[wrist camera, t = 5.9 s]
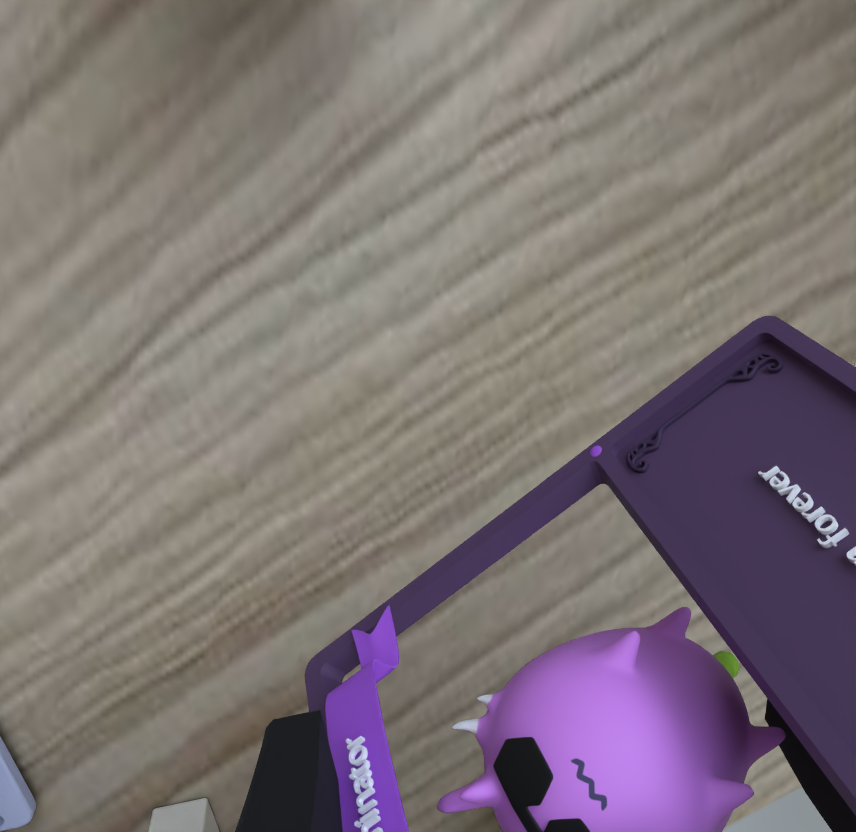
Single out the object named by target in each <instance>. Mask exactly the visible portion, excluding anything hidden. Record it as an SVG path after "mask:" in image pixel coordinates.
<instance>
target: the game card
mask: <svg viewBox="0 0 856 832" xmlns="http://www.w3.org/2000/svg"><path fill="white" fill-rule="evenodd" d="M603 483H604V484H607V485H608V486H609V487H610V489H611V490H612V491H613V493H614V494H615V495H616V497H617V498H618V499H619V501H620V502H621V503H622V505H623V506H624V507H625V509H626V510H627V511H628V513H629V514H630V515H631V517H632V518H633V519H634V521H635V522H636V523H637V525H638V526H639V527H640V529H641V530H642V531H643V533H644V534H645V535H646V537H647V538H648V539H649V541H650V542H651V543H652V545H653V546H654V547H655V549H656V550H657V551H658V553H659V554H660V555H661V557H662V558H663V559H664V561H665V562H666V563H667V565H668V566H669V567H670V569H671V570H672V571H673V573H674V574H675V575H676V577H677V578H678V579H679V581H680V582H681V583H682V585H683V586H684V587H685V589H686V590H687V591H688V593H689V594H690V595H691V597H692V598H693V599H694V601H695V602H696V603H697V605H698V606H699V607H700V609H701V610H702V611H703V613H704V614H705V615H706V617H707V618H708V619H709V621H710V622H711V623H712V625H713V626H714V627H715V629H716V630H717V631H718V633H719V634H720V635H721V637H722V638H723V639H724V641H725V642H726V643H727V645H728V646H729V647H730V649H731V650H732V651H733V653H734V654H735V655H736V657H737V658H738V659H739V661H740V662H741V663H742V665H743V666H744V667H745V669H746V670H747V671H748V673H749V674H750V675H751V677H752V678H753V679H754V681H755V682H756V683H757V685H758V686H759V687H760V689H761V690H762V691H763V693H764V694H765V695H766V697H767V698H768V699H769V701H770V702H771V703H772V705H773V706H774V707H775V709H776V710H777V711H778V713H779V714H780V715H781V717H782V718H783V719H784V721H785V722H786V723H787V725H788V726H789V727H790V729H791V730H792V731H793V733H794V734H795V735H796V737H797V738H798V739H799V741H800V742H801V743H802V745H803V746H804V747H805V749H806V750H807V751H808V753H809V754H810V755H811V757H812V758H813V759H814V761H815V762H816V763H817V765H818V766H819V767H820V769H821V770H822V771H823V773H824V774H825V775H826V777H827V778H828V779H829V781H830V782H831V783H832V785H833V786H834V787H835V789H836V790H837V791H838V793H839V794H840V795H841V797H842V798H843V799H844V801H845V802H846V803H847V805H848V806H849V807H850V809H851V810H852V811H853V813H854V814H855V815H856V367H854V366H853V365H851V364H850V363H848V362H846V361H845V360H843V359H842V358H840V357H839V356H837V355H835V354H834V353H832V352H831V351H829V350H828V349H826V348H825V347H823V346H821V345H820V344H818V343H817V342H815V341H814V340H812V339H810V338H809V337H807V336H806V335H804V334H803V333H801V332H800V331H798V330H796V329H795V328H793V327H792V326H790V325H789V324H787V323H785V322H784V321H782V320H781V319H779V318H777V317H775V316H764V317H761V318H758V319H756V320H755V321H753V322H752V323H750V324H749V325H748V326H746V327H745V328H744V329H743V330H741V331H740V332H739V333H737V334H736V335H735V336H733V337H732V338H731V339H729V340H728V341H727V342H726V343H724V344H723V345H722V346H720V347H719V348H718V349H716V350H715V351H714V352H712V353H711V354H710V355H708V356H707V357H706V358H705V359H703V360H702V361H701V362H699V363H698V364H697V365H695V366H694V367H693V368H691V369H690V370H689V371H687V372H686V373H685V374H684V375H682V376H681V377H680V378H678V379H677V380H676V381H674V382H673V383H672V384H670V385H669V386H668V387H667V388H665V389H664V390H663V391H661V392H660V393H659V394H657V395H656V396H655V397H653V398H652V399H651V400H649V401H648V402H647V403H646V404H644V405H643V406H642V407H640V408H639V409H638V410H636V411H635V412H634V413H632V414H631V415H630V416H628V417H627V418H626V419H625V420H623V421H622V422H621V423H619V424H618V425H617V426H615V427H614V428H613V429H611V430H610V431H609V432H608V433H606V434H605V435H604V436H602V437H601V438H600V439H598V440H597V441H596V442H594V443H593V444H592V445H590V446H589V447H588V448H587V449H585V450H584V451H583V452H581V453H580V454H579V455H577V456H576V457H575V458H573V459H572V460H571V461H569V462H568V463H567V464H566V465H564V466H563V467H562V468H560V469H559V470H558V471H556V472H555V473H554V474H552V475H551V476H550V477H549V478H547V479H546V480H545V481H543V482H542V483H541V484H539V485H538V486H537V487H535V488H534V489H533V490H531V491H530V492H529V493H528V494H526V495H525V496H524V497H522V498H521V499H520V500H518V501H517V502H516V503H514V504H513V505H512V506H510V507H509V508H508V509H507V510H505V511H504V512H503V513H501V514H500V515H499V516H497V517H496V518H495V519H493V520H492V521H491V522H490V523H488V524H487V525H486V526H484V527H483V528H482V529H480V530H479V531H478V532H476V533H475V534H474V535H472V536H471V537H470V538H469V539H467V540H466V541H465V542H463V543H462V544H461V545H459V546H458V547H457V548H455V549H454V550H453V551H452V552H450V553H449V554H448V555H446V556H445V557H444V558H442V559H441V560H440V561H438V562H437V563H436V564H434V565H433V566H432V567H431V568H429V569H428V570H427V571H425V572H424V573H423V574H421V575H420V576H419V577H417V578H416V579H415V580H413V581H412V582H411V583H410V584H408V585H407V586H406V587H404V588H403V589H402V590H400V591H399V592H398V593H396V594H395V595H394V596H393V597H391V598H390V599H389V600H387V601H386V602H385V603H383V604H382V605H381V606H379V607H378V608H377V609H375V610H374V611H373V612H372V613H370V614H369V615H368V616H366V617H365V618H364V619H362V620H361V621H360V622H358V623H357V624H356V625H354V626H353V627H352V628H351V629H349V630H348V631H347V632H345V633H344V634H343V635H341V636H340V637H339V638H337V639H336V640H335V641H334V642H332V643H331V644H330V645H328V646H327V647H326V648H324V649H323V650H322V651H320V652H319V653H318V654H316V655H315V656H314V657H313V658H312V659H311V660H310V662H309V663H308V665H307V668H306V671H305V683H306V691H307V698H308V706H309V712H312V711H317V710H320V711H321V715H322V719H323V722H324V726H325V730H326V734H327V738H328V742H329V746H330V750H331V754H332V757H333V761H334V765H335V769H336V773H337V777H338V782H339V794H340V806H341V817H342V829H343V832H409V830H408V826H407V822H406V818H405V814H404V810H403V806H402V801H401V797H400V793H399V789H398V784H397V780H396V776H395V772H394V767H393V763H392V759H391V755H390V750H389V746H388V742H387V737H386V733H385V728H384V723H383V718H382V713H381V708H380V702H379V697H378V691H377V686H376V683H377V682H379V681H380V680H382V679H383V678H384V677H385V676H387V675H388V674H389V673H390V672H391V671H393V670H394V669H395V668H396V667H397V665H398V663H399V650H398V643H397V638H396V636H398V635H399V634H400V633H402V632H403V631H404V630H406V629H407V628H408V627H410V626H411V625H412V624H414V623H415V622H416V621H418V620H419V619H420V618H422V617H423V616H424V615H426V614H427V613H428V612H430V611H431V610H432V609H434V608H435V607H436V606H438V605H439V604H440V603H442V602H443V601H444V600H446V599H447V598H448V597H450V596H451V595H452V594H454V593H455V592H456V591H458V590H459V589H460V588H462V587H463V586H464V585H466V584H467V583H468V582H470V581H471V580H472V579H474V578H475V577H476V576H478V575H479V574H480V573H482V572H483V571H484V570H486V569H487V568H488V567H490V566H491V565H492V564H494V563H495V562H496V561H498V560H499V559H500V558H502V557H503V556H504V555H506V554H507V553H508V552H510V551H511V550H512V549H514V548H515V547H516V546H518V545H519V544H520V543H522V542H523V541H524V540H526V539H527V538H528V537H530V536H531V535H532V534H534V533H535V532H536V531H538V530H539V529H540V528H542V527H543V526H544V525H546V524H547V523H548V522H550V521H551V520H552V519H554V518H555V517H556V516H558V515H559V514H560V513H562V512H563V511H564V510H566V509H567V508H568V507H570V506H571V505H572V504H574V503H575V502H576V501H578V500H579V499H580V498H582V497H583V496H584V495H586V494H587V493H588V492H590V491H591V490H592V489H594V488H595V487H596V486H598V485H600V484H603ZM690 618H691V611H690V609H689V608H687V607H682V608H679V609H677V610H676V611H674V612H672V613H671V614H669V615H668V616H667V617H665V618H664V619H662V620H661V621H659V622H658V623H656V624H654V625H652V626H649V627H646V628H622V629H614V630H607V631H602V632H598V633H594V634H590V635H586V636H583V637H580V638H577V639H574V640H571V641H569V642H566V643H564V644H562V645H559V646H557V647H555V648H553V649H551V650H549V651H547V652H545V653H544V654H542V655H540V656H538V657H537V658H535V659H533V660H532V661H530V662H529V663H528V664H526V665H525V666H524V667H523V668H521V669H520V670H519V671H518V672H517V673H516V674H515V675H514V676H513V677H512V678H511V679H510V681H509V682H508V683H507V684H506V686H505V687H504V688H503V689H502V690H500V691H499V692H497V693H495V694H490V695H483V696H480V697H478V698H477V700H479V701H481V702H483V703H485V704H486V706H487V708H488V711H487V713H486V714H485V715H484V716H483V717H481V718H479V719H471V720H464V721H461V722H459V723H457V724H455V725H454V726H453V727H452V728H453V729H456V730H465V731H469V732H472V733H474V734H475V736H476V738H477V740H478V742H479V744H480V746H481V748H482V750H483V755H484V766H485V773H484V774H483V775H482V776H481V777H479V778H478V779H476V780H475V781H473V782H472V783H470V784H468V785H466V786H464V787H462V788H460V789H458V790H455V791H453V792H451V793H448V794H446V795H445V796H443V797H442V798H441V799H440V800H439V802H438V804H437V808H438V810H439V811H441V812H444V813H453V812H459V811H465V810H470V809H476V808H481V807H493V810H494V813H495V816H496V818H497V821H498V823H499V825H500V827H501V829H502V831H503V832H722V831H723V829H724V827H725V825H726V823H727V822H728V820H729V818H730V816H731V814H732V812H733V810H734V809H735V808H737V807H738V806H740V805H741V804H743V803H744V802H745V801H747V800H748V799H749V798H751V797H752V796H753V794H754V792H753V790H752V788H751V787H750V786H749V785H747V784H744V781H745V777H746V774H747V771H748V769H749V768H750V766H751V765H752V764H753V763H754V762H755V761H756V760H757V759H759V758H760V757H762V756H763V755H765V754H766V753H768V752H769V751H771V750H772V749H774V748H775V747H777V746H778V745H779V744H780V743H782V742H783V740H784V739H785V736H786V734H785V732H784V731H783V730H782V729H781V728H778V727H757V726H753V725H751V724H750V721H749V717H748V713H747V709H746V706H745V703H744V700H743V698H742V695H741V693H740V691H739V689H738V687H737V685H736V683H735V681H734V680H733V678H734V677H735V676H736V675H737V673H738V671H739V663H738V661H737V659H736V658H735V657H734V656H733V655H732V654H731V653H729V652H725V651H720V652H718V653H716V654H715V655H712V654H710V653H709V652H708V651H706V650H705V649H704V648H702V647H701V646H699V645H698V644H696V643H694V642H693V641H691V640H689V639H687V638H685V632H686V629H687V626H688V624H689V621H690ZM359 664H361V670H360V671H358V672H357V673H356V674H354V675H353V676H352V677H350V678H349V679H348V680H346V681H345V682H344V683H342V680H343V678H344V676H345V675H346V674H347V673H348V672H350V671H351V670H352V669H354V668H355V667H356V666H358V665H359Z"/></svg>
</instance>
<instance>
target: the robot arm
mask: <svg viewBox="0 0 856 832" xmlns="http://www.w3.org/2000/svg"><path fill="white" fill-rule="evenodd" d="M765 720H766V722H767V723H768V725H769V727H778V728H781V729H782V730H783V731H784V732H785V734H786V736H785V739H784V740H783V742H782V743H780V744H779V746H780V748H781V750H782V752H783V753H784V755H785V757H786V759H787V761H788V763H789V764H790V766H791V768H792V770H793V771H794V773H795V775H796V777H797V778H798V780H799V782H800V784H801V785H802V787H803V789H804V791H805V792H806V794H807V795H808V797H809V798H810V800H811V801H812V803H813V804H814V805H815V807H816V809H817V810H818V811H819V813H820V814H821V816H822V817H823V819H824V820H825V821H826V823H827V824H828V826H829V827H830V829H831V830H832V831H833V832H856V815H855V814H854V813H853V811H852V810H851V809H850V807H849V806H848V805H847V803H846V802H845V801H844V799H843V798H842V797H841V795H840V794H839V793H838V791H837V790H836V789H835V787H834V786H833V785H832V783H831V782H830V781H829V779H828V778H827V777H826V775H825V774H824V773H823V771H822V770H821V769H820V767H819V766H818V765H817V763H816V762H815V761H814V759H813V758H812V757H811V755H810V754H809V753H808V751H807V750H806V749H805V747H804V746H803V745H802V743H801V742H800V741H799V739H798V738H797V737H796V735H795V734H794V733H793V731H792V730H791V729H790V727H789V726H788V725H787V723H786V722H785V721H784V719H783V718H782V717H781V715H780V714H779V713H778V711H777V710H776V709H775V707H774V706H773V705H772V703H771V702H770V701H769V699H767V706H766V713H765ZM36 807H37V805H36V801H35V799H34V797H33V796H32V794H31V792H30V790H29V788H28V786H27V784H26V783H25V781H24V779H23V777H22V775H21V773H20V771H19V770H18V768H17V766H16V764H15V762H14V760H13V759H12V757H11V755H10V753H9V751H8V749H7V747H6V746H5V744H4V742H3V740H2V738H1V736H0V831H4V830H9V829H14V828H19V827H21V826H24V825H27V824H28V823H29V822H30V821H31V820H32V818H33V815H34V812H35V810H36ZM235 832H343V829H342V817H341V806H340V794H339V782H338V777H337V773H336V769H335V765H334V761H333V757H332V754H331V750H330V746H329V742H328V738H327V734H326V730H325V726H324V722H323V719H322V715H321V711H320V710H317V711H312V712H307V713H302V714H298V715H293V716H288V717H283V718H279V719H274V720H272V722H271V723H270V724H269V725H268V726H267V727H266V730H265V735H264V739H263V743H262V747H261V751H260V754H259V758H258V761H257V765H256V768H255V772H254V775H253V779H252V782H251V785H250V788H249V791H248V795H247V798H246V801H245V804H244V807H243V810H242V813H241V816H240V819H239V822H238V825H237V828H236V831H235Z"/></svg>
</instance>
